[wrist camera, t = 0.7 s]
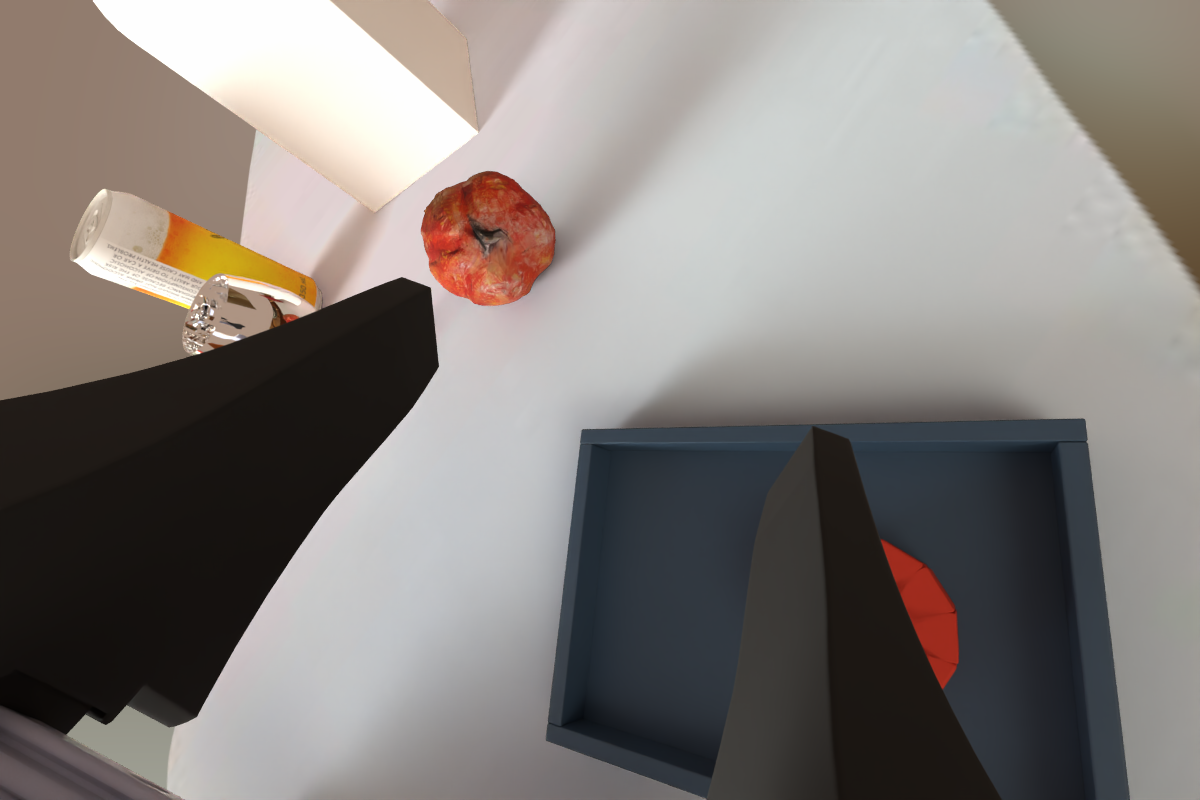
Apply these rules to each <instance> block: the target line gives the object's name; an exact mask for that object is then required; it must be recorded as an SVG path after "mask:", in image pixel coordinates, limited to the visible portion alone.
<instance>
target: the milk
mask: <svg viewBox="0 0 1200 800" xmlns="http://www.w3.org/2000/svg"><path fill="white" fill-rule="evenodd" d="M93 2H94V3H95V4H96V5H97V7H98V8H99V9H100V11H101V12H102V13H103V15H104V16H105V17H106V18H107V19H108V20H109V21H110V22H111V23H112V24H113V25H114V26H115V27H116V28H117V29H118V30H119V31H120V32H121V33H123V34H124V35H125V36H126V37H128V38H129V39H130V40H131V41H133V42H134V43H136V44H137V45H138V46H140V47H141V48H143V49H144V50H145V51H147V52H148V53H150V54H151V55H153V56H154V57H155V58H157V59H158V60H160V61H161V62H162V63H164V64H165V65H167V66H168V67H170V68H171V69H172V70H174V71H175V72H177V73H178V74H179V75H181V76H182V77H184V78H185V79H186V80H188V81H189V82H191V83H192V84H193V85H195V86H196V87H198V88H199V89H201V90H202V91H203V92H205V93H206V94H208V95H209V96H210V97H212V98H213V99H215V100H216V101H218V102H219V103H220V104H222V105H223V106H225V107H226V108H227V109H229V110H230V111H232V112H233V113H235V114H236V115H237V116H239V117H240V118H241V119H243V120H244V121H246V122H247V123H249V124H250V125H252V126H253V127H254V128H256V129H257V130H258V131H260V132H261V133H263V134H264V135H266V136H267V137H268V138H270V139H271V140H273V141H274V142H275V143H277V144H278V145H280V146H281V147H282V148H284V149H285V150H287V151H288V152H290V153H291V154H292V155H294V156H295V157H297V158H298V159H299V160H301V161H302V162H304V163H305V164H306V165H308V166H309V167H311V168H312V169H314V170H315V171H316V172H318V173H319V174H321V175H322V176H323V177H325V178H326V179H328V180H329V181H331V182H332V183H333V184H335V185H336V186H338V187H339V188H340V189H342V190H343V191H345V192H346V193H347V194H349V195H350V196H352V197H353V198H355V199H356V200H357V201H359V202H360V203H362V204H363V205H364V206H366V207H367V208H369V209H370V210H371V211H373V212H374V213H375V212H377V211H378V210H379V209H381V208H382V207H383V206H384V205H386V204H387V203H388V202H390V201H391V200H392V199H394V198H395V197H396V196H397V195H399V194H400V193H401V192H403V191H404V190H405V189H406V188H408V187H409V186H410V185H412V184H413V183H414V182H416V181H417V180H418V179H419V178H421V177H422V176H423V175H425V174H426V173H427V172H428V171H430V170H431V169H432V168H434V167H435V166H436V165H438V164H439V163H440V162H441V161H443V160H444V159H445V158H447V157H448V156H449V155H451V154H452V153H453V152H454V151H456V150H457V149H458V148H460V147H461V146H462V145H463V144H465V143H466V142H467V141H469V140H470V139H471V138H473V137H474V136H475V135H476V134H478V133H479V132H478V124H477V116H476V108H475V101H474V93H473V85H472V77H471V69H470V62H469V54H468V46H467V39H466V38H465V37H464V36H463V35H462V34H461V33H460V32H459V31H458V30H457V29H456V28H455V27H454V26H453V25H452V24H451V23H450V22H449V21H448V20H447V19H446V18H445V17H444V16H443V15H442V14H441V13H440V12H439V11H438V10H437V9H436V8H435V7H434V6H433V5H432V4H431V3H430V2H429V1H428V0H93Z"/></svg>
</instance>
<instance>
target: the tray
mask: <svg viewBox="0 0 1200 800" xmlns="http://www.w3.org/2000/svg"><path fill="white" fill-rule="evenodd" d="M812 426H815V427H817V428H820V429H823V430H826V431H828V432H831V433H834V434H837V435H840V436H842V437H845V438H848V439H849V440H850V443H851V445H852V448H853V451H854V455H855V459H856V462H857V466H858V469H859V473H860V476H861V480H862V483H863V486H864V490H865V493H866V496H867V500H868V503H869V506H870V509H871V512H872V516H873V519H874V522H875V525H876V528H877V531H878V534H879V537H880V539H883V540H885V541H887V542H889V543H891V544H892V545H894V546H896V547H897V548H899V549H901V550H902V551H904V552H906V553H907V554H909V555H911V556H912V557H914V558H916V559H917V560H919V561H921V562H922V563H924V564H926V565H927V566H928V568H930V569H932V571H933V572H934V574H935V575H936V577H937V579H938V580H939V582H940V583H941V585H942V586H943V588H944V589H945V591H946V592H947V594H948V595H949V597H950V599H951V600H952V602H953V603H954V605H955V609H956V610H957V625H958V643H959V663H958V664H957V668H956V670H955V672H954V673H953V675H952V676H951V678H950V679H949V681H948V682H947V684H946V685H945V687H944V688H943V691H944V693H945V695H946V698H947V700H948V702H949V704H950V706H951V708H952V710H953V712H954V714H955V716H956V718H957V719H958V721H959V723H960V725H961V727H962V729H963V731H964V733H965V735H966V736H967V738H968V740H969V742H970V744H971V746H972V748H973V750H974V752H975V754H976V755H977V757H978V759H979V761H980V762H981V764H982V766H983V768H984V769H985V771H986V773H987V775H988V776H989V778H990V780H991V781H992V783H993V785H994V787H995V788H996V790H997V792H998V793H999V795H1000V797H1001V799H1002V800H1130V795H1129V787H1128V778H1127V770H1126V761H1125V753H1124V744H1123V736H1122V727H1121V719H1120V711H1119V702H1118V694H1117V685H1116V677H1115V668H1114V660H1113V651H1112V643H1111V634H1110V626H1109V618H1108V609H1107V601H1106V592H1105V584H1104V575H1103V567H1102V558H1101V550H1100V541H1099V533H1098V524H1097V516H1096V508H1095V499H1094V491H1093V482H1092V474H1091V465H1090V457H1089V448H1088V443H1087V442H1086V441H1087V440H1088V438H1087V430H1086V421H1085V419H1040V420H994V421H948V422H903V423H857V424H811V425H766V426H720V427H674V428H629V429H583V430H582V432H581V441H580V443H581V444H580V451H579V459H578V468H577V476H576V485H575V494H574V502H573V511H572V519H571V528H570V536H569V545H568V554H567V562H566V571H565V579H564V588H563V596H562V605H561V613H560V622H559V631H558V639H557V648H556V656H555V665H554V673H553V682H552V691H551V699H550V708H549V716H548V722H549V723H548V725H547V733H546V741H548V742H551V743H554V744H557V745H560V746H562V747H565V748H568V749H571V750H573V751H576V752H579V753H582V754H584V755H587V756H590V757H593V758H596V759H598V760H601V761H604V762H607V763H609V764H612V765H615V766H618V767H620V768H623V769H626V770H629V771H632V772H634V773H637V774H640V775H643V776H645V777H648V778H651V779H654V780H656V781H659V782H662V783H665V784H668V785H670V786H673V787H676V788H679V789H681V790H684V791H687V792H690V793H692V794H695V795H698V796H701V797H704V798H706V799H707V796H708V792H709V788H710V784H711V780H712V776H713V772H714V768H715V764H716V760H717V756H718V752H719V748H720V744H721V740H722V736H723V731H724V727H725V723H726V719H727V714H728V710H729V706H730V702H731V698H732V693H733V689H734V683H735V677H736V672H737V666H738V659H739V652H740V644H741V637H742V629H743V622H744V614H745V607H746V599H747V592H748V584H749V577H750V570H751V562H752V555H753V549H754V543H755V539H756V535H757V531H758V527H759V523H760V519H761V515H762V512H763V508H764V504H765V501H766V497H767V493H768V492H769V490H770V489H771V487H772V486H773V484H774V483H775V481H776V480H777V478H778V477H779V475H780V474H781V472H782V471H783V469H784V468H785V466H786V465H787V463H788V462H789V460H790V459H791V457H792V456H793V454H794V453H795V451H796V450H797V448H798V447H799V445H800V444H801V442H802V441H803V439H804V438H805V436H806V435H807V433H808V432H809V430H810V429H811V427H812Z"/></svg>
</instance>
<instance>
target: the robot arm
mask: <svg viewBox="0 0 1200 800" xmlns="http://www.w3.org/2000/svg"><path fill="white" fill-rule="evenodd" d="M438 367H439V363H438V353H437V343H436V334H435V324H434V315H433V305H432V295H431V288H430V287H428V286H425V285H422V284H419V283H417V282H414V281H411V280H408V279H406V278H403V277H401V278H398V279H395V280H393V281H390V282H387V283H384V284H382V285H379V286H377V287H374V288H372V289H369V290H367V291H364V292H362V293H359V294H357V295H354V296H352V297H350V298H347V299H345V300H342V301H340V302H337V303H335V304H333V305H330V306H328V307H325V308H323V309H320V310H318V311H315V312H313V313H310V314H308V315H305V316H303V317H300V318H298V319H295V320H293V321H290V322H288V323H285V324H283V325H280V326H277V327H274V328H272V329H269V330H266V331H263V332H260V333H258V334H255V335H252V336H249V337H247V338H244V339H241V340H238V341H235V342H233V343H230V344H227V345H224V346H222V347H219V348H215V349H212V350H209V351H206V352H203V353H200V354H197V355H193V356H190V357H187V358H184V359H180V360H177V361H173V362H169V363H166V364H162V365H159V366H155V367H152V368H148V369H144V370H141V371H137V372H133V373H129V374H124V375H120V376H116V377H111V378H107V379H103V380H98V381H94V382H89V383H85V384H81V385H76V386H72V387H67V388H63V389H58V390H54V391H49V392H44V393H39V394H33V395H28V396H22V397H17V398H11V399H6V400H0V800H184V799H182V798H181V797H179V796H177V795H175V794H173V793H171V792H170V791H168V790H166V789H164V788H162V787H160V786H159V785H157V784H155V783H153V782H151V781H149V780H148V779H146V778H144V777H142V776H140V775H139V774H137V773H135V772H133V771H131V770H129V769H128V768H126V767H124V766H122V765H120V764H118V763H117V762H115V761H113V760H111V759H109V758H107V757H106V756H104V755H102V754H100V753H98V752H96V751H95V750H93V749H91V748H89V747H87V746H85V745H83V744H82V743H80V742H78V741H76V740H74V739H73V738H71V737H69V736H67V735H66V734H67V733H68V732H69V731H70V730H71V729H72V728H73V727H74V726H75V725H76V724H77V723H78V722H79V721H80V719H81V718H82V717H83V716H84V715H85V714H86V715H88V716H90V717H92V718H93V719H95V720H97V721H99V722H101V723H103V724H105V725H106V724H108V723H110V722H112V721H113V720H114V718H115V717H116V716H117V715H118V714H119V713H120V712H121V711H122V710H123V708H124V707H125V706H126V705H128V706H129V707H132V708H133V709H135V710H137V711H139V712H141V713H143V714H145V715H147V716H149V717H150V718H152V719H154V720H156V721H158V722H160V723H162V724H164V725H166V726H167V727H173V726H177V725H180V724H183V723H185V722H188V721H190V720H192V719H194V718H196V717H197V716H198V714H199V712H200V710H201V708H202V706H203V704H204V702H205V700H206V699H207V697H208V695H209V693H210V691H211V690H212V688H213V686H214V684H215V683H216V681H217V679H218V677H219V675H220V674H221V672H222V670H223V668H224V667H225V665H226V663H227V661H228V659H229V658H230V656H231V654H232V652H233V651H234V649H235V647H236V645H237V644H238V642H239V640H240V639H241V637H242V636H243V634H244V632H245V631H246V629H247V627H248V626H249V624H250V623H251V621H252V619H253V618H254V616H255V614H256V613H257V611H258V609H259V608H260V606H261V605H262V603H263V601H264V600H265V598H266V596H267V595H268V593H269V592H270V590H271V589H272V587H273V586H274V584H275V583H276V581H277V580H278V578H279V577H280V575H281V574H282V572H283V571H284V569H285V568H286V566H287V564H288V563H289V561H290V560H291V558H292V557H293V555H294V554H295V552H296V551H297V550H298V548H299V547H300V545H301V544H302V542H303V541H304V540H305V538H306V537H307V535H308V534H309V532H310V531H311V530H312V528H313V527H314V525H315V524H316V522H317V521H318V520H319V518H320V517H321V515H322V514H323V512H324V511H325V510H326V509H327V507H328V506H329V505H330V504H331V502H332V501H333V500H334V499H335V497H336V496H337V495H338V494H339V492H340V491H341V490H342V489H343V488H344V487H345V485H346V484H347V483H348V482H349V481H350V480H351V479H352V477H353V476H354V475H355V474H356V473H357V472H358V470H359V469H360V468H361V467H362V466H363V465H364V464H365V462H366V461H367V460H368V459H369V458H370V457H371V456H372V454H373V453H374V452H375V451H376V450H377V449H378V448H379V446H380V445H381V444H382V443H383V442H384V441H385V440H386V438H387V437H388V436H389V435H390V434H391V433H392V431H393V430H394V429H395V428H396V427H397V425H398V424H399V423H400V422H401V421H402V420H403V418H404V417H405V416H406V415H407V414H408V412H409V411H410V410H411V409H412V408H413V406H414V405H415V403H416V402H417V400H418V399H419V397H420V396H421V394H422V393H423V391H424V390H425V388H426V387H427V385H428V383H429V382H430V380H431V379H432V377H433V375H434V374H435V372H436V371H437V369H438ZM707 800H1002V799H1001V797H1000V795H999V793H998V792H997V790H996V788H995V787H994V785H993V783H992V781H991V780H990V778H989V776H988V775H987V773H986V771H985V769H984V768H983V766H982V764H981V762H980V761H979V759H978V757H977V755H976V754H975V752H974V750H973V748H972V746H971V744H970V742H969V740H968V738H967V736H966V735H965V733H964V731H963V729H962V727H961V725H960V723H959V721H958V719H957V718H956V716H955V714H954V712H953V710H952V708H951V706H950V704H949V702H948V700H947V698H946V695H945V693H944V691H943V689H942V687H941V685H940V683H939V681H938V679H937V677H936V675H935V673H934V671H933V669H932V667H931V664H930V662H929V660H928V658H927V656H926V654H925V651H924V649H923V647H922V644H921V642H920V640H919V638H918V635H917V633H916V631H915V628H914V626H913V623H912V621H911V619H910V616H909V614H908V611H907V609H906V607H905V604H904V602H903V599H902V597H901V594H900V592H899V589H898V586H897V584H896V581H895V579H894V576H893V573H892V570H891V568H890V565H889V562H888V559H887V556H886V554H885V551H884V548H883V545H882V542H881V540H880V537H879V534H878V531H877V528H876V525H875V522H874V519H873V516H872V512H871V509H870V506H869V503H868V500H867V496H866V493H865V490H864V486H863V483H862V480H861V476H860V473H859V469H858V466H857V462H856V459H855V455H854V451H853V448H852V445H851V443H850V440H849V439H848V438H845V437H842V436H840V435H837V434H834V433H831V432H828V431H826V430H823V429H820V428H817V427H815V426H812V427H811V429H810V430H809V432H808V433H807V435H806V436H805V438H804V439H803V441H802V442H801V444H800V445H799V447H798V448H797V450H796V451H795V453H794V454H793V456H792V457H791V459H790V460H789V462H788V463H787V465H786V466H785V468H784V469H783V471H782V472H781V474H780V475H779V477H778V478H777V480H776V481H775V483H774V484H773V486H772V487H771V489H770V490H769V492H768V493H767V497H766V501H765V504H764V508H763V512H762V515H761V519H760V523H759V527H758V531H757V535H756V539H755V543H754V549H753V555H752V562H751V570H750V577H749V584H748V592H747V599H746V607H745V614H744V622H743V629H742V637H741V644H740V652H739V659H738V666H737V672H736V677H735V683H734V689H733V693H732V698H731V702H730V706H729V710H728V714H727V719H726V723H725V727H724V731H723V736H722V740H721V744H720V748H719V752H718V756H717V760H716V764H715V768H714V772H713V776H712V780H711V784H710V788H709V792H708V796H707Z"/></svg>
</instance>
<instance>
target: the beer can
mask: <svg viewBox="0 0 1200 800" xmlns="http://www.w3.org/2000/svg"><path fill="white" fill-rule="evenodd" d="M70 259H71V260H72V261H74V262H77V263H78V264H79V265H80V266H82V267H83V268H84V269H85V270H86V271H88V272H89V273H90V274H93V275H95V276H98V277H101V278H104V279H107V280H109V281H112V282H115V283H118V284H121V285H124V286H126V287H129V288H132V289H135V290H138V291H140V292H144V293H146V294H149V295H152V296H155V297H157V298H160V299H163V300H166V301H169V302H171V303H174V304H177V305H180V306H183V307H186V308H189V309H190V307H191V305H192V302H193V301H194V299H195V297H196V295H197V293H198V292H199V290H200V289H201V288H202V286H203V285H204V284H205V283H206V282H207V280H209V279H210V278H211V277H212V276H214V275H216V274H219V273H222V274H228V275H233V276H239V277H244V278H249V279H253V280H257V281H261V282H265V283H268V284H271V285H275V286H278V287H281V288H283V289H286V290H288V291H290V292H293V293H295V294H297V295H298V296H300V297H302V298H303V299H305V300H306V301H308V302H309V303H310V304H311V305H312V306H313V307H314V308H315V309H316V310H317V311H318V310H320V309H321V306H322V294H321V291H320V290H319V289H318V288H317V286H316V283H315V281H314V280H313V279H312V278H309V277H307V276H305V275H303V274H301V273H299V272H297V271H294V270H292V269H290V268H288V267H286V266H284V265H282V264H280V263H277V262H275V261H273V260H271V259H269V258H267V257H265V256H262V255H260V254H258V253H256V252H254V251H252V250H250V249H248V248H245V247H243V246H241V245H239V244H237V243H235V242H233V241H230V240H228V239H226V238H224V237H222V236H220V235H217V234H215V233H213V232H211V231H209V230H207V229H205V228H203V227H201V226H198V225H196V224H194V223H192V222H190V221H188V220H185V219H183V218H181V217H179V216H177V215H175V214H173V213H170V212H168V211H166V210H164V209H162V208H160V207H158V206H156V205H153V204H151V203H149V202H147V201H145V200H143V199H141V198H139V197H136V196H134V195H132V194H130V193H125V192H115V191H110V190H107V189H103V190H101V191H100V192H99V193H98V194H97V195H96V196H95V198H94V199H93V200H92V202H91V203H90V205H89V206H88V208H87V209H86V211H85V213H84V215H83V217H82V219H81V221H80V223H79V225H78V228H77V230H76V232H75V235H74V238H73V241H72V244H71V249H70Z"/></svg>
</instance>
